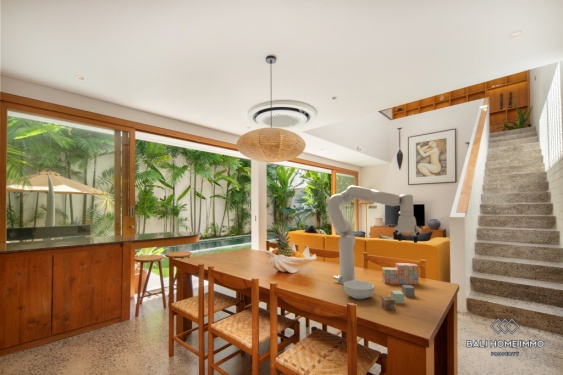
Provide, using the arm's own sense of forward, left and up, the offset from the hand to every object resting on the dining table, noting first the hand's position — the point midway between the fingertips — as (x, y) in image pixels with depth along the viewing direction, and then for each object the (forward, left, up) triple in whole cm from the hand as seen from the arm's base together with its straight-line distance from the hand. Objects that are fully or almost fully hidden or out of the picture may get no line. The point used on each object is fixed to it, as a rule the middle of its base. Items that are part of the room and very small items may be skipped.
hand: (407, 241), depth 165 cm
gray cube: (-5, -10, -29) cm, 31 cm away
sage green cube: (-15, -20, -29) cm, 39 cm away
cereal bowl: (-34, -13, -29) cm, 47 cm away
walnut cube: (-23, -29, -29) cm, 47 cm away
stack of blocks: (0, +13, -29) cm, 32 cm away
